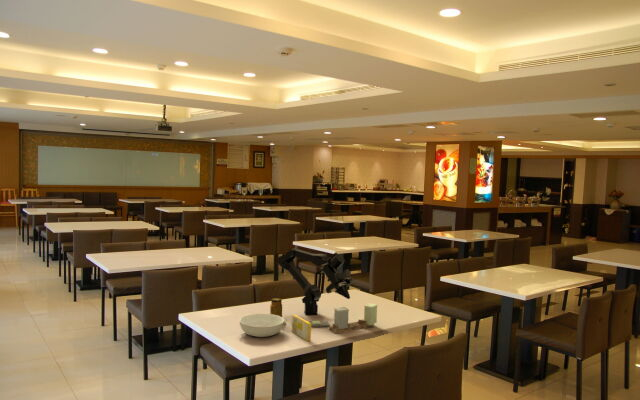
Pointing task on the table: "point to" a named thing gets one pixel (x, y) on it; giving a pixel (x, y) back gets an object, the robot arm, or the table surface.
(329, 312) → the table surface
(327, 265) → the robot arm
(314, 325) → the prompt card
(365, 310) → the sage key
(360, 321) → the brown holder tray
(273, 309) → the condiment
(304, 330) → the candy box
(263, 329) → the serving bowl
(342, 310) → the slate key
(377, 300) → the table surface
